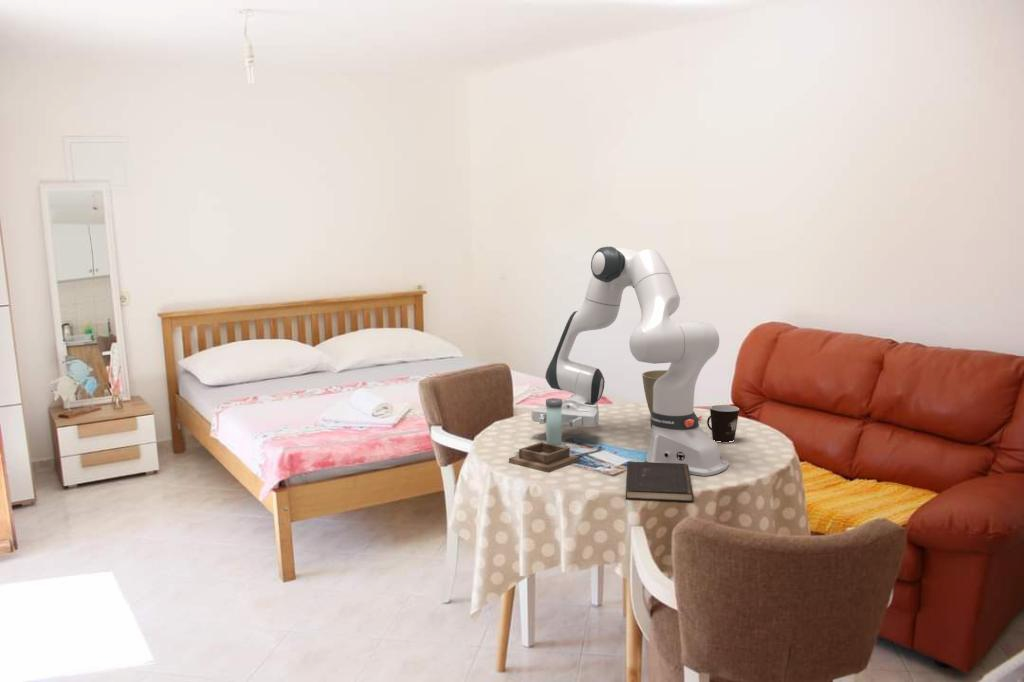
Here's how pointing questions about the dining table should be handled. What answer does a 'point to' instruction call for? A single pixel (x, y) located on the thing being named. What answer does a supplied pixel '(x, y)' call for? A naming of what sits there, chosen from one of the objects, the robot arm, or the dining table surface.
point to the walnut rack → (544, 457)
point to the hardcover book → (658, 482)
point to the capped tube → (554, 421)
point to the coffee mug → (723, 422)
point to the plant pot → (651, 385)
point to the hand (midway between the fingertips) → (556, 422)
